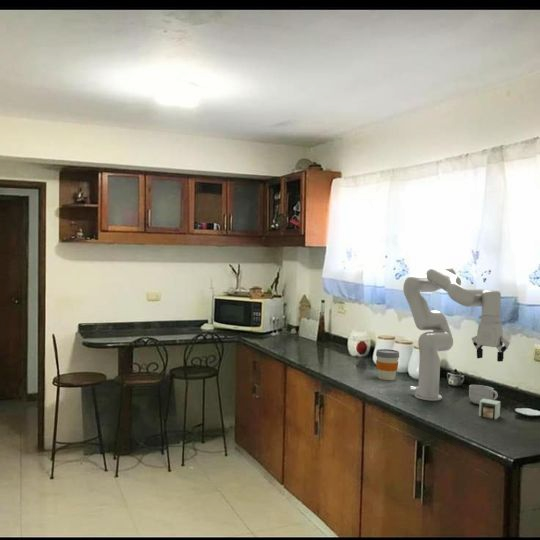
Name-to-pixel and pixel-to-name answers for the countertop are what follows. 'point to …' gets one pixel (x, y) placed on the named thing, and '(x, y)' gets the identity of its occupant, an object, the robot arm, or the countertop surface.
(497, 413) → the toy fireplace
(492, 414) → the lettered cube
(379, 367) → the reusable coffee cup
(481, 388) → the teacup
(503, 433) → the countertop surface
